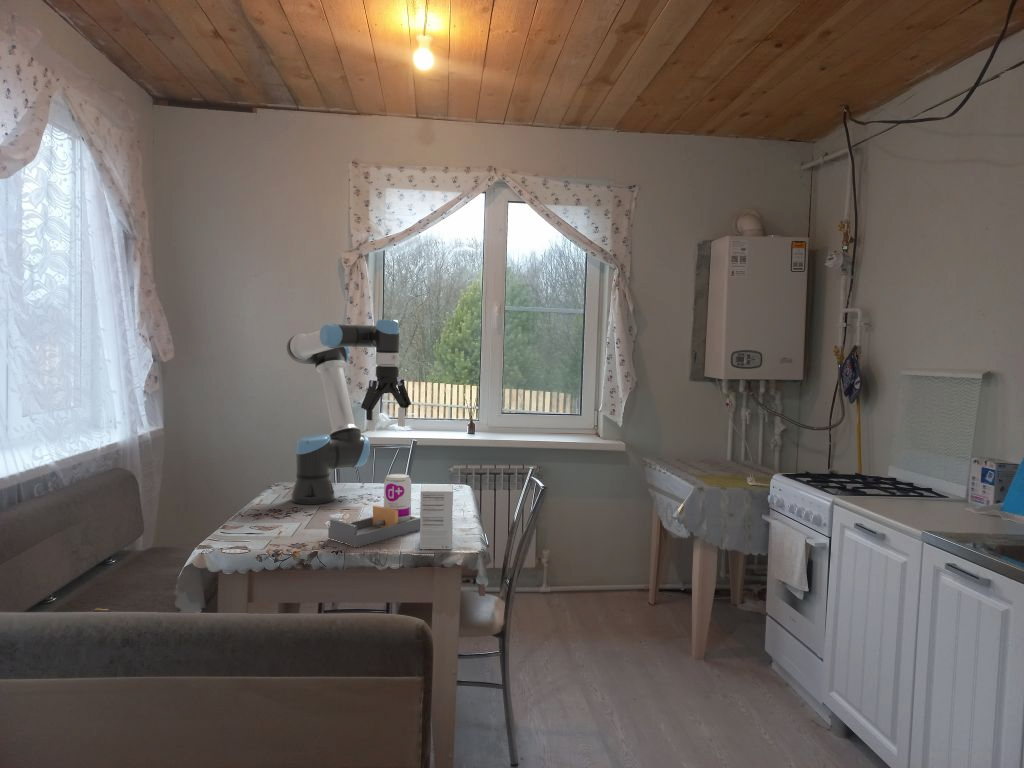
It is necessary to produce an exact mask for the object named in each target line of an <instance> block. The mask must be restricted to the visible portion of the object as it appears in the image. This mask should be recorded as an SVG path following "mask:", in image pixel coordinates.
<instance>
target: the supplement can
mask: <svg viewBox="0 0 1024 768" xmlns="http://www.w3.org/2000/svg"><path fill="white" fill-rule="evenodd" d="M383 481H384V483H383V485H384V486H383V489H384V490H383V507H385V508H390V509H394V510H398V523H402V522H405V521H409V520H411V513H412V511H411V509H412V508H411V507H412V479H411V478H410V475H409V474H406V473H389V474H387V475H386V476H385V479H384V480H383Z"/></svg>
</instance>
